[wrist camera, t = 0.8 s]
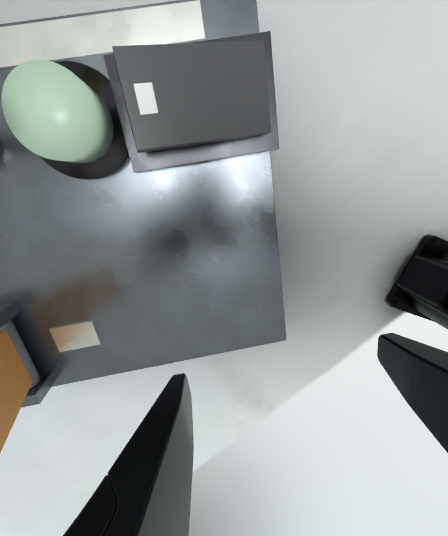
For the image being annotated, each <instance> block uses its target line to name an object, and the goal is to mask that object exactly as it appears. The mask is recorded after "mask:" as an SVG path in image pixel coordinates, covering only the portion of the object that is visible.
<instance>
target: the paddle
mask: <svg viewBox="0 0 448 536" xmlns="http://www.w3.org/2000/svg"><path fill="white" fill-rule="evenodd" d="M40 379H41V378H40V376H39V374H38V372H37V370H36V368H35V366H34V364H33V362H32V360H31V358H30V356H29V354H28V352H27V350H26V348H25V346H24V344H23V342H22V340H21V338H20V336H19V334H18V332H17V330H16V328H15V326H14V324H13V322H12V320H11V319H10V320H9V321H8V322H7V323H5V324H4V325H3V326H1V327H0V452H1V450H2V448H3V445H4V443H5V441H6V439H7V437H8V434H9V432H10V430H11V428H12V426H13V424H14V421H15V419H16V417H17V415H18V413H19V410H20V408H21V406H22V404H23V402H24V399H25V397H26V395H27V393H28V391H29V389H31V388H33V387H34V386H35V385H37V384H38V382H39V381H40Z"/></svg>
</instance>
